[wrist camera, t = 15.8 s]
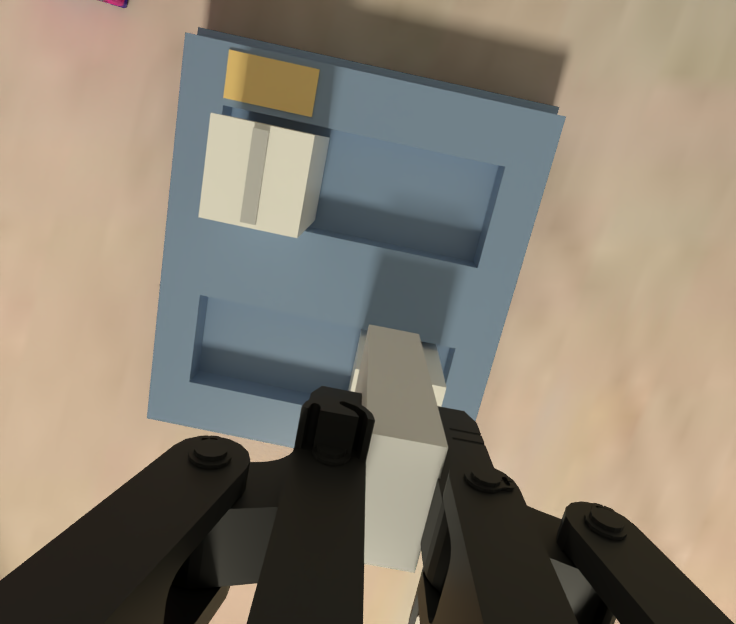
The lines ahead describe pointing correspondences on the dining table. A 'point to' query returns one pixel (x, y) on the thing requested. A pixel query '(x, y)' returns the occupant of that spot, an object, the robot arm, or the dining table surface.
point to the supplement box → (117, 2)
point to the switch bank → (341, 235)
